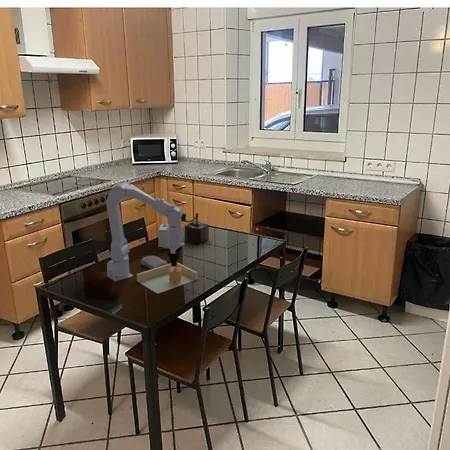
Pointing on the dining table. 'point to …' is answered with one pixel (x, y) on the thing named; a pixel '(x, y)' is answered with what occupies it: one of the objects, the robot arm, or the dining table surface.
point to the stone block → (153, 262)
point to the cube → (175, 274)
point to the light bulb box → (163, 236)
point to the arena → (165, 278)
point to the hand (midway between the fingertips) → (175, 262)
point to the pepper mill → (195, 231)
